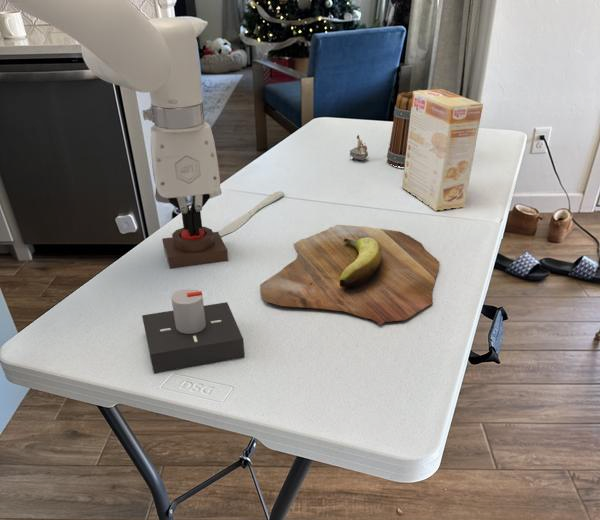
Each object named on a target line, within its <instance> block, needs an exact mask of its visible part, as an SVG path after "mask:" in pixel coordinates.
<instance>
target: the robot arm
mask: <svg viewBox="0 0 600 520" xmlns="http://www.w3.org/2000/svg"><path fill="white" fill-rule="evenodd" d="M5 1H6V3H9V4H10V5H12V6H13V7H15V8H16V9H18V10H20V11H22V12H23V13H25V14H27V15H29V16H31V17H33V18H35V19H38V20H40V21H42V22H44V23H46V24H48V25H50V26H52V27H54V28H55V29H58V30H59V31H61V32H63V33H64V34H66V35H67V36H69V37H70V38H72V39H73V40H75V41H76V42H78V43H79V44H80V51H81V56H82V59H83V62H84V63H85V65H86V67H87V68H88V69H89V71H90V72H91V73H92V74H93V75H94V76H96V77H97V78H99V79H100V80H102V81H104V82H107V83H109V84H112V85H115V86H119V87H123V88H126V89H128V90H132V91H134V92H138V93H143V94H144V93H149V96H150V106H149V108H147V109H144V110H142V116H143V121H149V122H152V123H153V125H152V126H151V127H150V156H151V166H152V175H153V180H154V184H155V195H154V197H155V200H156V202H158V203H163V204H171V205H172V206H174V207H175V208H176V209H178V210H179V211H180V213H181V220H182V226H183V227H184V230H188V232H189V235H190V236H193V235H194V233H195V235H199V228H202V227H203V222H202V213H201V212H202V211H203V207H204V206H205V205H206V204H207V202H208V201H209V200H210V199H214V198H216V197H218V196H221V195H222V189H221V177H220V169H219V168H220V167H219V161H218V154H217V148H216V144H215V139H214V134H213V131H212V127H211V124H210V123H208V122H206V121H205V115H204V114H205V113H204V105H203V104H204V103H203V94H202V93H203V92H202V84H201V73H200V64H199V54H198V44H197V35H196V34H197V33H196V30H195V27H194V24H193V23H192V22H191V21H190V20H188V19H187V18H184V17H174V16H171V17H170V16H169V17H168V16H165V17H154V18H149V19H148V18H147V17H145V15H144V14H143V13H141V11H139V10H138V9H137V7H136V6H135V5H133V3H131V2H130V1H129V0H5ZM191 196H192V199H191V200H192V201H191V204H190V206H189V205H188V204H187V201H186V197H191ZM183 227H182V228H183Z"/></svg>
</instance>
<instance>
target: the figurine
mask: <svg viewBox="0 0 600 520" xmlns="http://www.w3.org/2000/svg"><path fill="white" fill-rule="evenodd" d="M356 140H357V146H356V147H354V148H352V149H350V150H349V156H351V157H353V158H354V159H353V160H355V159H357V160H358V161H362V160H366V159H367V157H368V156H369V152H368V147H367V145H366V142H365V141H364V142H363V139H361V138H360V135H359V134H357V135H356Z"/></svg>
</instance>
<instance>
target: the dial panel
mask: <svg viewBox="0 0 600 520" xmlns="http://www.w3.org/2000/svg"><path fill="white" fill-rule="evenodd" d="M204 312H205V320H206V327H205V328H204V329H203V330H202V331H200V332H197V333H193V334H185V333H181V332H179V331H178V330H177V329H176V325H175V318H174V312H173V310H168V311H161V312H154V313H149V314H143V315H141V318H142V322H143V323H142V324H143V329H144V333H145V337H146V343H147V347H148V352H149V353H148V354H149V358H150V363H151V367H152V372H153V374H156V373H157V374H158V373H163V372H168V371H169V372H170V371H174V370H180V369H185V368H191V367H197V366H202V365H207V364H215V363H220V362H224V361H229V360H237V359H242V358H245V344H244V337H243V335H242V333H241V330H240V328H239V325H238V323H237V322H236V321H237V320H236V319H235V317H234V314H233V312H232V310H231V308H230V305H229V303H228V302H227V301H226V302H218V303H213V304H206V305H205V304H204Z"/></svg>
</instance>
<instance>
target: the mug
mask: <svg viewBox="0 0 600 520" xmlns="http://www.w3.org/2000/svg"><path fill="white" fill-rule="evenodd" d="M420 90H421V89H417V90H416V91H420ZM412 96H413V91H407V92H401V93H399V94H397V97H396V101H395V102H396V103H395V105H394V109H393V110H394V111H393V121H392V127H391V134H390V139H389V146H388V149H387V154H386V161H387V163H388V164H389V165H390V164H392V165H394V166H397V167H398V166H400V167H405V159H406V150H407V141H408V132H409V123H410V114H411V106H412Z"/></svg>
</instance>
